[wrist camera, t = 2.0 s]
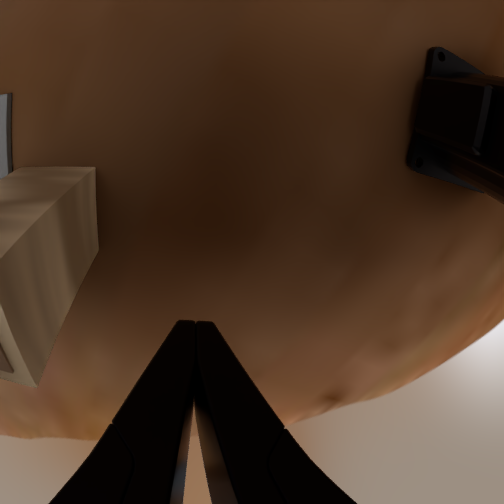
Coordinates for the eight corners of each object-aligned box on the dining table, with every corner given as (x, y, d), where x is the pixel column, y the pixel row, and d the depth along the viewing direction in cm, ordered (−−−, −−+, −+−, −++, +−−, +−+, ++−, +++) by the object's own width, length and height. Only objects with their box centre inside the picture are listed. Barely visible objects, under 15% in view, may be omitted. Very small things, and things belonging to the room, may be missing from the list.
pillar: (95, 167, 12) (-12, 273, 5) (99, 250, 14) (36, 390, 7) (20, 167, 11) (-100, 258, 4) (29, 244, 13) (-53, 362, 6)
